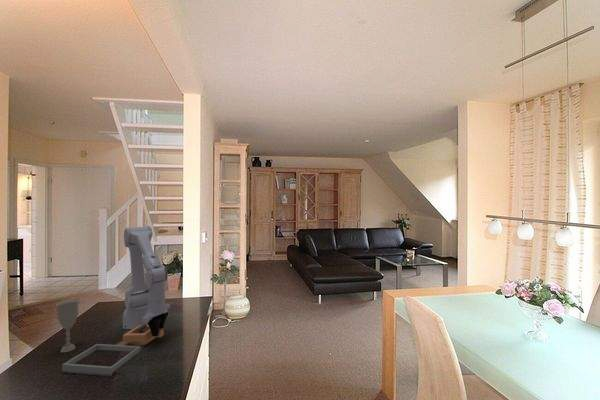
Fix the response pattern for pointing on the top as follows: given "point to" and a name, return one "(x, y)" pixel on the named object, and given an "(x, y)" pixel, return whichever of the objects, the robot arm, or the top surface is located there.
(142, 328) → the tan wooden piece
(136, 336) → the tan flat frame
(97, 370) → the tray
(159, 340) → the top surface
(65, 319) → the chalice
